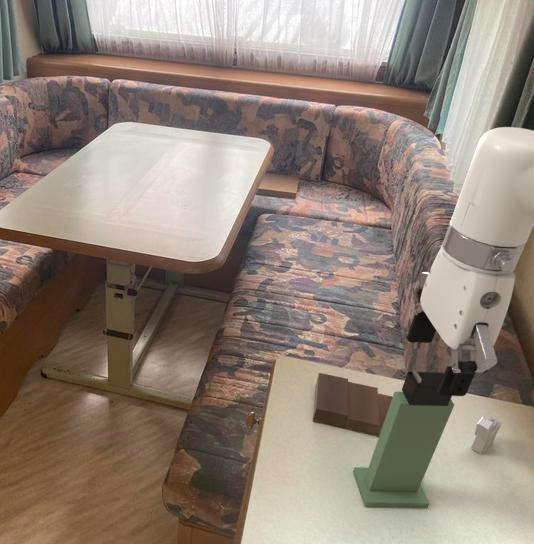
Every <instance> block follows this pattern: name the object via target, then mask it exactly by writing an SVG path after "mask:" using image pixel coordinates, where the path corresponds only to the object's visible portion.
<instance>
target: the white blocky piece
mask: <svg viewBox="0 0 534 544" xmlns="http://www.w3.org/2000/svg"><path fill="white" fill-rule="evenodd" d="M502 425H503V423H502V422H501V421H499V420H498V419H497V418H494V417H492V416H490V417H489V418H488V419H487V418H485V417H484V416H482V417H481V418H480V419H479V420H478V422H477V423H476V427H475V431H474V436H475V437H474V439H473V441H472V444H471V446H470V449H471V450H473V451H474V452H475V453H478V454H479V455H482V454H484V453H485V451H487V449H488V448H490V446H491V445H492V444H493V443H494V440H495V438H496V437H497V434H498V432H499V430H500V428H501V426H502Z"/></svg>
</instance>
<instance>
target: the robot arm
mask: <svg viewBox="0 0 534 544" xmlns="http://www.w3.org/2000/svg"><path fill="white" fill-rule="evenodd" d="M465 176H466V177H465V179H464V182H463V184H462V187H461V190H460V193H459V195H458V199H457V202H456V204H455V207H454V210H453V213H452V215H451V218H450V222H449V225H448V226H447V230H446V231H445V232H446V233H445V236H444V238H443V241H442V243H441V246H440V249H439V251H438V252H437V255H436V257H435V258H434V261H433V263H432V265H431V267H430V270H429V271H428V272H427V271H422V272H421V273H420V276H419V277H420V278H419V288H418V290H417V292H416V296H417V303H416V304H415V305H414V313H415V314H414V315H413V318H412V321H411V324H410V326H409V330H408V332H407V335H406V339H407V341H408V342H409V343H416V344H417V343H419V344H420V343H422V344H431V343H432V342H433V340H434V337H435V334H436V332H437V333H438V335H439V337H440V338H441V339H442V341H443V342H444V343H445V345H446V346H448V347H449V349H450V357H451V365H447V366H446V368H445V369H444V370H445V373H444V375H443V378H442V380H441V382H440V385H439V387H438V390H437V391H438V393H439V395H441V396H452V397H464V396H467V393H468V391H469V389H470V387H471V384H472V382H473V380H474V378H475V375H480V374H486V373H487V372H488V371H489V370H490V369H491V368H493V367H495V366H496V365H497V363H498V358H497V354H496V351H495V348H494V346H495V344H496V342H497V340H498V337H499V335H500V332H501V329H502V328H503V324H504V322H505V318H506V316H507V313H508V310H509V306H510V303H511V299H512V296H513V292H514V288H515V287H514V286H515V281H516V275H515V273H514V271H515V269H516V267H517V265H518V262H519V260H520V258H521V256H522V253H523V251H524V248H526V247H525V246H526V244H527V242H528V241H529V238H530V236H531V233H532V231H533V228H534V130H532V129H529V128H523V127H516V126H515V127H513V126H502V127H501V126H500V127H495V128H492V129H490V130H488V131H487V132H485V133H484V134H483V135H482V136H481V138H480V139H479V141H478V144H477V145H476V149H475V151H474V154H473V156H472V159H471V162H470V165H469V168H468V170H467V173H466V175H465ZM467 340H470V344H468V343H467V344H466V343H465V342H466V341H467ZM464 343H465V344H464ZM462 351H469V356H470V360H467V361H463V359H462V358H463V357H462V355H463V354H462Z"/></svg>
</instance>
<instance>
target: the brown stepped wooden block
mask: <svg viewBox="0 0 534 544" xmlns="http://www.w3.org/2000/svg"><path fill="white" fill-rule="evenodd" d="M378 390H379V389H378V387H375V386H372V385H371V386H370V385H367V384H361V383H357V382H353V381H349V378H346V377H341V376H338V375H332V374H327V373H324V372H323V373H322V372H318V374H317V377H316V383H315V389H314V400H313V415H312V422H314V423H317V424H322V425H326V426H331V427H335V428H338V429H339V428H340V429H344V430H349V431H352V432H357V433H361V434H367V435H371V436H374V437H378V438H379V436H380V433H381V430H382V427H383V424H384V421H385V418H386V415H387V412H388V410H389V407H390V404H391V401H392V398H393V396H392V395H387V394H383V393H379V391H378Z"/></svg>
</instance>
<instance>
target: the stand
mask: <svg viewBox="0 0 534 544" xmlns="http://www.w3.org/2000/svg"><path fill="white" fill-rule="evenodd" d="M392 397H393V398H392V401H391V404H390V407H389V410H388V412H387V415H386V418H385V421H384V424H383V427H382V430H381V433H380V436H379V437H378V438H377V441H376V444H375V448H374V450H373V453H372V456H371V459H370V462H369V465H368V467H359V466H357V467H353V470H352V473H353V477H354V480H355V482H356V485H357V488H358V491H359V494H360V496H361V500H362V502H363V505H364V507H365V508H411V509H412V508H414V509H415V508H416V509H417V508H418V509H422V508H423V509H428V508H429V506H430V504H431V503H430V501H429V499H428V497H427V494H426V491H425V490H424V488H423V486H422V482H423V480H424V478H425V475H426V473H427V470H428V468H429V465H430V464H431V461H432V459H433V456H434V454H435V452H436V449H437V447H438V444H439V442H440V440H441V438H442V436H443V434H444V431H445V428H446V426H447V424H448V421H449V419H450V416H451V415H452V412H453V409H454V408H455V407H454V406H455V404H454V402H453V400H452V399H451V400H450V402H449V404H448V406H424V405H409V403H408V401H407V399H406V398H405V396H404V394H403V392H402V391H394V392H393V396H392Z"/></svg>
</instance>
